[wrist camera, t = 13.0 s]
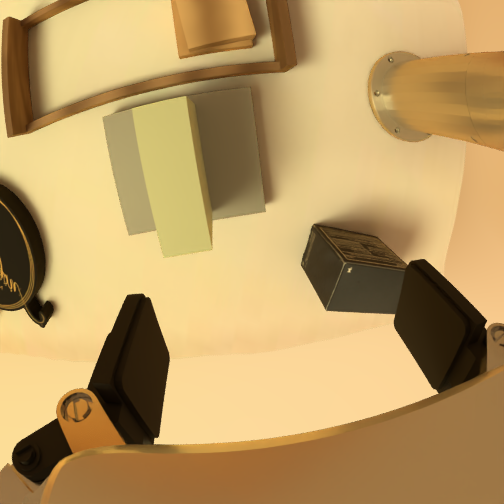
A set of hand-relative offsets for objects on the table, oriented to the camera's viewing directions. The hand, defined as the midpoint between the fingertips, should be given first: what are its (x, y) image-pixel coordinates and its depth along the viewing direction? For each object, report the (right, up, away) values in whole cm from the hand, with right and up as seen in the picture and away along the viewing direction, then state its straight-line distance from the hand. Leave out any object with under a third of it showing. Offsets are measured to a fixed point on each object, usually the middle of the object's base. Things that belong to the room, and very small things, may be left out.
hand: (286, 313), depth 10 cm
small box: (+11, +2, +30) cm, 32 cm away
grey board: (-9, +13, +22) cm, 27 cm away
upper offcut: (-5, +28, +13) cm, 31 cm away
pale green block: (-8, +12, +19) cm, 24 cm away
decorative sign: (-42, +2, +23) cm, 48 cm away
